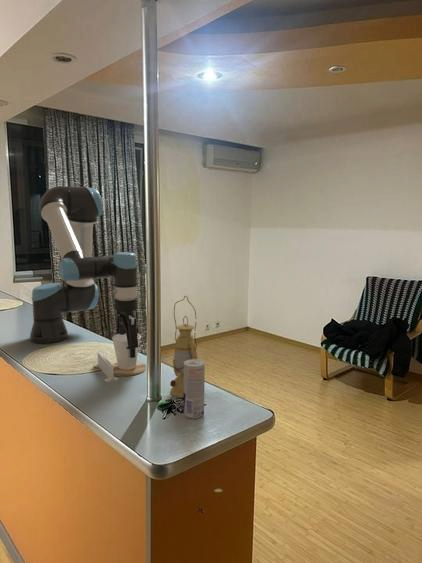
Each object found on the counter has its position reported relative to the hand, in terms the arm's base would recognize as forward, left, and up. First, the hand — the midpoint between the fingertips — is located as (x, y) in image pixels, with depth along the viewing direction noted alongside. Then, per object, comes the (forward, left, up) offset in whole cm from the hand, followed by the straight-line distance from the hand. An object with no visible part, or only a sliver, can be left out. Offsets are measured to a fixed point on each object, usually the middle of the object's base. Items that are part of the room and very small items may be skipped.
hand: (127, 361), depth 142 cm
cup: (0, 0, -2) cm, 2 cm away
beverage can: (+40, +6, -3) cm, 41 cm away
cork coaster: (0, 0, -3) cm, 3 cm away
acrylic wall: (0, -8, -3) cm, 8 cm away
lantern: (+26, +10, -3) cm, 28 cm away
